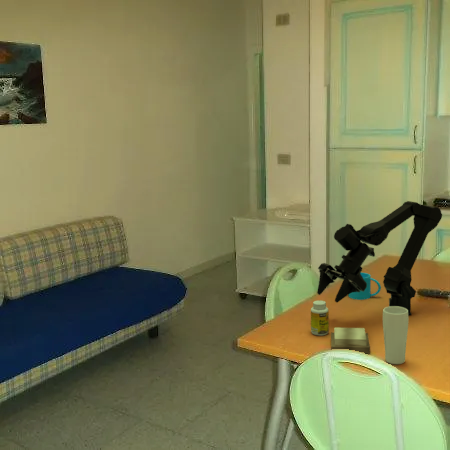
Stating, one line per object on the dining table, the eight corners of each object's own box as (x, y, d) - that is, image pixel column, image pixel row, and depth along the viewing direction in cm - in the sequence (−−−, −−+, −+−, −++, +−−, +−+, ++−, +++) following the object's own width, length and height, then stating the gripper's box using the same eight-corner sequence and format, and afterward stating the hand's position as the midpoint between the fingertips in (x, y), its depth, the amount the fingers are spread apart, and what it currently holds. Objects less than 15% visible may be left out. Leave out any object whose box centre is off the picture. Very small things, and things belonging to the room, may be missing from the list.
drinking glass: (379, 357, 166) (379, 306, 163) (402, 355, 167) (402, 305, 164) (387, 367, 160) (387, 315, 157) (411, 365, 160) (412, 313, 157)
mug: (346, 298, 218) (345, 277, 217) (351, 292, 225) (351, 271, 224) (378, 301, 213) (378, 280, 211) (382, 294, 220) (383, 274, 219)
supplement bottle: (319, 337, 183) (318, 306, 181) (307, 332, 187) (306, 302, 185) (332, 333, 186) (332, 302, 184) (320, 328, 190) (319, 298, 188)
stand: (367, 339, 179) (367, 326, 179) (370, 353, 169) (370, 340, 168) (331, 338, 181) (331, 326, 181) (331, 353, 171) (331, 340, 170)
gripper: (388, 280, 184) (360, 320, 181) (350, 267, 200) (324, 303, 197) (368, 259, 179) (339, 300, 176) (331, 248, 195) (304, 285, 192)
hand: (326, 297), depth 185 cm, fingers open, 9 cm apart
